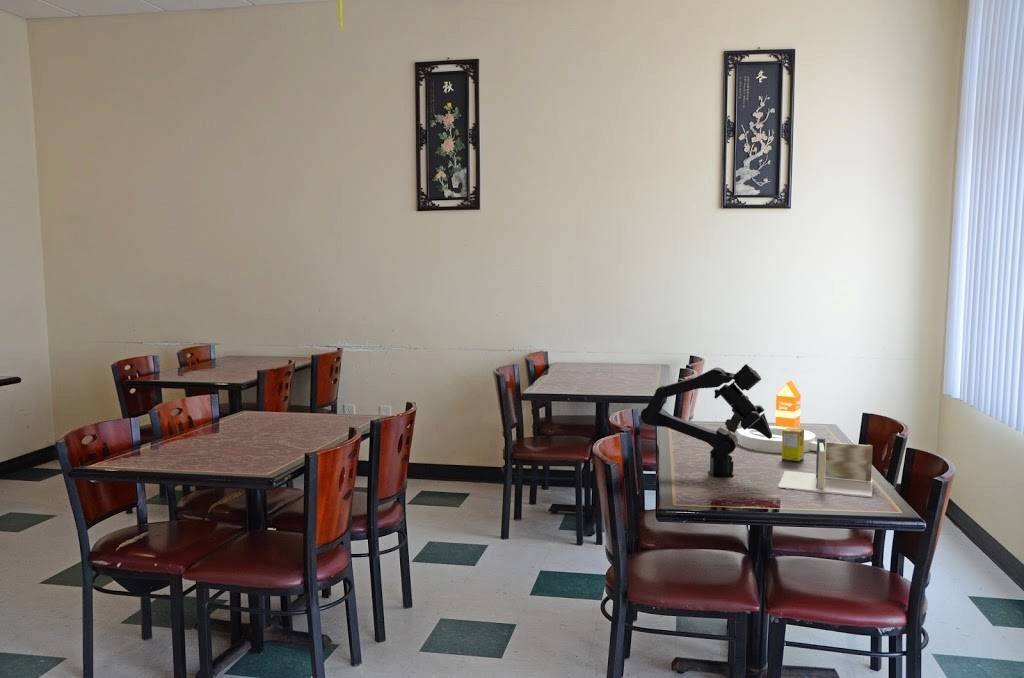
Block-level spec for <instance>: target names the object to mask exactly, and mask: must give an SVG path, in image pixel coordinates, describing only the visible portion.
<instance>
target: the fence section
mask: <svg viewBox="0 0 1024 678" xmlns="http://www.w3.org/2000/svg"><path fill="white" fill-rule="evenodd" d="M816 442H817V451H816V460H815V461H816V462H815V463H816V464H815V465H816V467H815V474H816V478H818V464H819V443H823V444H824V451H826V455H825V477H828V478H838V479H849V480H859V481H867V482H871V479H872V470H873V469H872V466H873V465H872V464H873V447H874V445H872V444H857V443H845V442H835V441H834V442H833V441H832V442H831V441H826V439H825V438H823V437H822V438H821V437H817V438H816Z"/></svg>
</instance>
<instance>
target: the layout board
mask: <svg viewBox="0 0 1024 678" xmlns="http://www.w3.org/2000/svg"><path fill="white" fill-rule="evenodd" d="M873 481H874V480H873V479H872V478H871V482H867V481H859V480H849V479H838V478H828V477H825V482H824V488H818V478H816V473H812V472H811V473H810V472H802V471H801V472H800V471H790V470H784V472H783V475H782V477H781V479H780V481H779V484H778V485H777V488H778V487H779V488H778V489H781V488H786V489H785V490H791V489H794V491H802V492H811V493H822V494H831V495H841V496H849V497H850V496H851V497H862V498H871V499H872V498H873Z"/></svg>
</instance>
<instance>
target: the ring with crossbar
mask: <svg viewBox="0 0 1024 678" xmlns="http://www.w3.org/2000/svg"><path fill="white" fill-rule="evenodd" d="M769 428H770V430H771V433H772V437H771V438H770V439H768V438H767V437H766V436H764V435H763V434H761V433H760V432H758V431H757V430H755V429H746V430H744V429H743V428H742V427H741V428H737V430H736V432H735V433H733V432H731V433H732V434H734V435H735V436H736V437H737V439H738V445H739V446H740V445H741V447H742V446H743V447H742V448H745V447H746V448H745V449H748V448H749V449H748V450H752V449H753V451H757V452H764V453H774V454H775V453H776V454H777V453H778V454H782V433H783V430H784V429H786V428H791V427H781V426H775V425H769ZM795 429H797V428H795ZM816 439H817V438H816V434H815V433H814V432H812V431H809V430H807V429H804V453H807V452H811V451H815V452H817V441H816Z"/></svg>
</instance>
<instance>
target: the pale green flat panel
mask: <svg viewBox="0 0 1024 678" xmlns="http://www.w3.org/2000/svg"><path fill="white" fill-rule="evenodd" d="M825 466H826V450H825V451H824V444H823V443H819V464H818V488H824V482H825Z"/></svg>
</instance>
